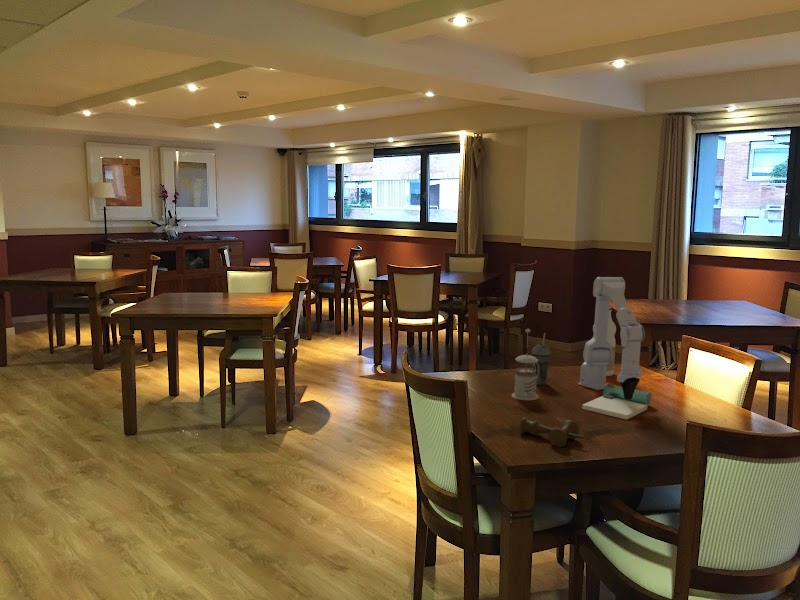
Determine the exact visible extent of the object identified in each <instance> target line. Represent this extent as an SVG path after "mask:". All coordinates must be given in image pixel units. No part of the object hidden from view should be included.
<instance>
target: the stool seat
mask: <svg viewBox="0 0 800 600" xmlns="http://www.w3.org/2000/svg"><path fill="white" fill-rule="evenodd" d="M581 409H582V410H585V411H589V412H593V413H598V414H600V415H601V414H602V415H605V416H610V417H614V418H619V419H622V420H630V419H631V418H633V417H635V416H637V415H639V414H641V413H643V412H644V411H646V410H648V406H647V405H645V404H641V403H636V402H632V401H627V400H623V399H618V398H614V396H610V395H604V394H603V395H602V396H599V397H597V398H594V399H592V400H590V401H587V402H585V403H583V404H582V407H581Z"/></svg>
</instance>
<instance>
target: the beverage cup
mask: <svg viewBox="0 0 800 600" xmlns="http://www.w3.org/2000/svg"><path fill="white" fill-rule="evenodd" d="M545 339H546V332H544V333H543V338H542V343H538V344H536V345H534V347H533V349H532V351H531V356H533V357H535V358H536V359H538V361H537V363H538V364H537V363H535V366H532V369H534V370H535V367H536V373H535V374H536V375H537V376H538V378H537V382H536V385H542V386H543V385H546V383H547V377H548V370H549V363H550V360H551V350H550V347H548V345H546V344H545ZM532 365H534V363H532ZM538 365H539V368H538ZM538 371H539V375H538Z"/></svg>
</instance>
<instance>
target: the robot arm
mask: <svg viewBox="0 0 800 600" xmlns="http://www.w3.org/2000/svg"><path fill="white" fill-rule="evenodd" d="M625 289H626V281H625V279H624V278H623V277H622V276H617V277H616V276H615V277H614V276H613V277H612V276H604V277H603V276H597V277H596V278H595V279H594V281H593V289H592V295H593V297H595V308H594V309H595V310H594V313H595V314H594V324H593V325H594V332H593V336H592V338H591V339H589V340H587V341H586V342H585V343H584V349H583V352H582V356H583V360H584V362H583V363H582V364H581V366H580V372H579V373H580V374H579V382H578V385H579V386H582V387H587V388H590V389H592V390H596V391H599V390H604V386H606V385H607V376H606V374H607V365H609V363H610V362H611V361H612V358H613V352H612V345H611V344H610V343H609V342H608V341H607V328H608V317H609V307H610V303H611V301H612V303H613V306H614V307H615V309H616V311H617V312H616V314H615V316H616V319H617V322H618V325H619V327H620V331H619V333H620V334H619V336H620V345H621V347H622V352H621V366H620V367H621V368H620V372H619V374H618V375H617V376H616V382H619V383H620V385H621V386H620V387H622V389H623V394H624V398H625V399H629V400H631V399H632V397H633V394H634V391H635V390H636V388H637V386H638V384H639V383H640V378H641V377H643V374H642V371H643V369H640V358H641V343H642V342H643V341H644V339H645V338H646V337H645V336H646V335H645V334H646V333H645V328H644V326H643V325H642V324H641V323H640V322H638V321H637V318H636V316H635V313H634V311H633V309H631V308H630V307H628V304H627V301H626V296H625Z"/></svg>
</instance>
